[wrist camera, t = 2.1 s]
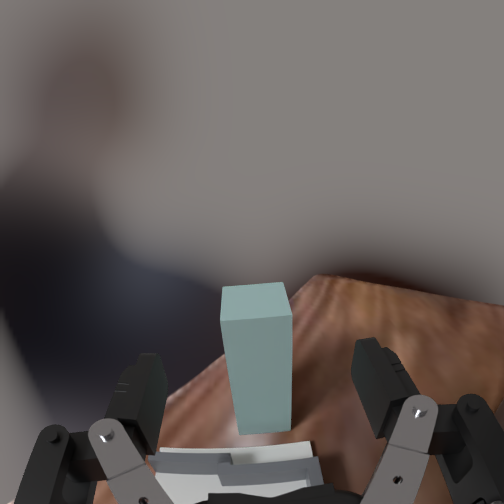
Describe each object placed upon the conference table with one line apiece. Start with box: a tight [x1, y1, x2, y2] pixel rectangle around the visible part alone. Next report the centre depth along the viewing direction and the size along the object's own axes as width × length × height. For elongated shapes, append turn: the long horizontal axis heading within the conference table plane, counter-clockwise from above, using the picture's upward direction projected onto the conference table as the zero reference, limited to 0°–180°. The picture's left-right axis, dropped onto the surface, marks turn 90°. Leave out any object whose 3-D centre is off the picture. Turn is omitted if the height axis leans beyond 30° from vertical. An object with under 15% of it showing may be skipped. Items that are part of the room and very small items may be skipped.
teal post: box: [220, 282, 292, 435], centre depth 26 cm, size 5×5×14 cm
